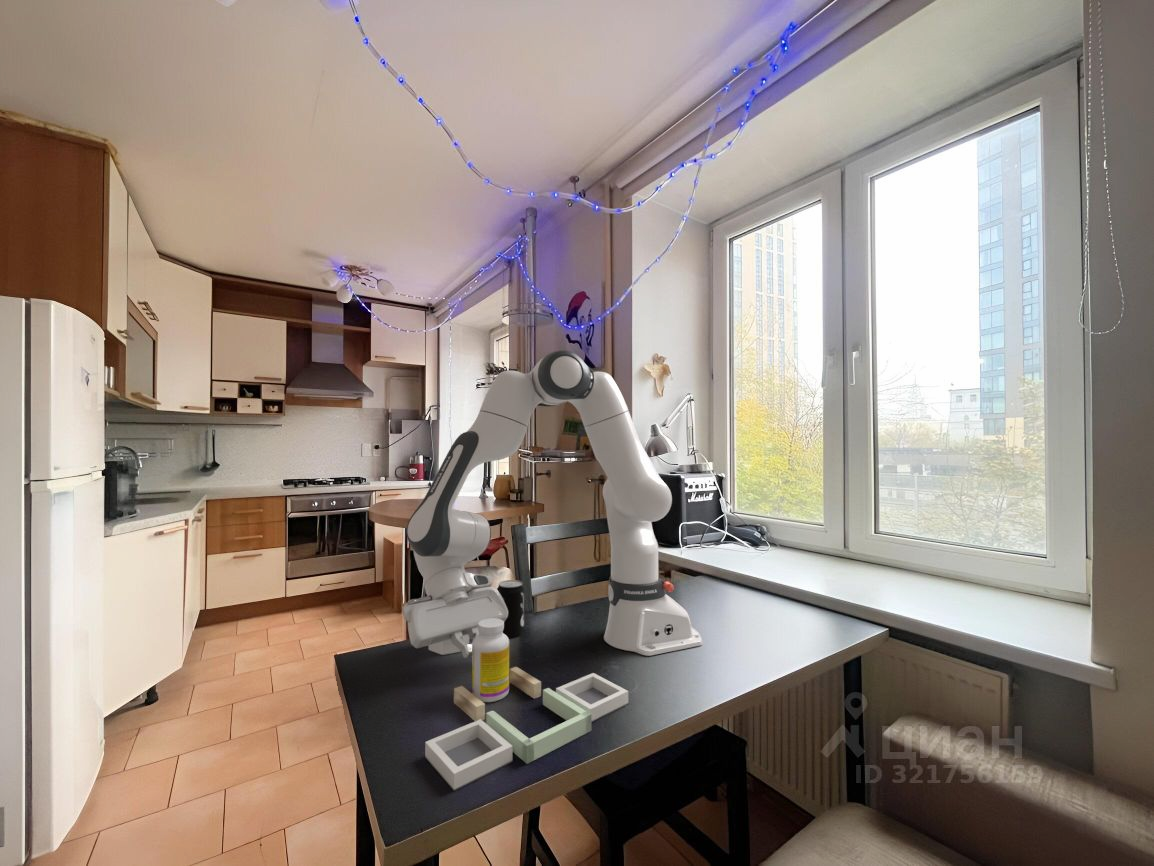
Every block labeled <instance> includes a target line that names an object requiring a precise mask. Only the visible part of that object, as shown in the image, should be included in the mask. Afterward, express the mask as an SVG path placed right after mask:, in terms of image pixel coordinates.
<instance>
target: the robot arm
mask: <svg viewBox="0 0 1154 866" xmlns="http://www.w3.org/2000/svg"><path fill="white" fill-rule="evenodd" d="M617 384H618V383H616V381H615V380H614V378H613V377H612V375H611V374H610V373H608V372H605V371H594V370H593V369H592V368H591V367H589V366H588V365H587V364H586V363H585V361H584V360H583V359H582V358H581V357H580V356H579V355H577V354H576V353H575V352H573V351H570V350H566V349H559V350H554V351H551V352H550V353H548V354H546V355H545V356H543V358H541V359H539V360H538V361H537V363H536V364H535V365H534V367H533V368H532V369H531V370H530V371H529V372H528V373H524V372H521V371H518V370H509V369H508V370H504V371H502V372H500V373H498V374H497V375H496V376H495V378H494V380H493V381H492V382H491V385H490V387H489V388H488V391H487V392H486V394H485V397H484V399H483V401H482V403H481V407H480V408H479V412H478V415H477V417H476V418H475V421H474V422H473V423H472V425H471V426H470V428H468V430H467V431H465V432H462V433H460V434H459V435H458V437H456V439H455V440H454V441H453V444H451V446H450V449H449V450H448V452H447V454H446V456H445V458H444V459H443V461H442V463H441V465H440V467H439V469H438V471H437V473H436V475H435V477H434V479H433V480H432V482H431V484H430V486H429V488H428V490H427V492H426V494H425V496H424V497H423V499H422V501H421V502H420V504H419V505H418V506H417V508H416V509H415V510H414V512H413V513H412V515H411V516H410V517H409V520H408V522H407V526H406V538H407V541H408V544H409V545H410V547H411V549H412V550H413V557H414V560H415V563H416V566H417V570H418V571H419V573H420V574H421V576H422V578H423V588H424V591H425V594H426V596H423V597H419V598H412V599H409V600H408V601H407V602H406V603H404V604H403V606H402V614H403V617H404V620H406V622H407V630H408V636H409V641H410V645H411V646H413V647H414V648H416V649H420V648H424V647H427V646H428V647H429V645H432V644H435V643H439V642H442V641H446V640H450V639H451V640H452V643H453V644H454V645H455V646H456V647H457V648H458V649H459V650H461V651H462V652H461V654H462V656H463V658H464V659H466V658H469V657H472V643H473V640H474V638H475V637H476V636H478V635H479V632H478V623H479V622H480V621H481V620H484V619H489V618H496V619H501V620H503V621H504V622H505V620H506V619H507V617H508V609H507V607H506V604H505V602H504V600H503V598H502V596H501V595H500V593H499V591H498V590H497V588H496V587H495V586H492V585H493V579H492V576H490V575H488V574H479V573H472V572H467V571H466V569H465V565H466V564H469V563H471V562H473V561H474V560H475V559H477V558H479V557H480V556H481V555H482V554H483V553H484V552H485V551H486V550H487V549H488V547H489V546H490V542H491V541H492V527H491V525H490V522H489V520H488V519H487V518H486V517H485V515H482V514H479V513H475V512H471V511H467V510H460V509H454V508H453V507H454V504H455V502H456V500H457V499H458V496H459V495H460V492H461V490H462V488H463V487H464V484H465V482H466V480H467V478H468V476H469V474H470V473H471V472H472V471H473V470H474V469H475V468H477V467H478V466H479V465H482V464H485V463H488V462H495V461H500V460H504V459H506V458H509V457H512V455H514V454H515V453H516V452H518V450H519V449H520V447H521V445H522V444H523V442H524V438H525V435H526V432H527V430H528V426H529V424H530V420H531V417H532V415H533V412H534V411H535V409H536V408H537V407H555V406H559V405H563V404H565V403H567V402H568V403H569V404H572V405H573V407H575V409H576V410H577V412H578V413H579V414H580V415H579V416H580V419H581V421H582V425H583V426H584V431H585V433H586V436H587V437H588V440H589V443H590V446H591V450H592V451H593V454H594V457H595V459H596V460H597V461H598V463H599V465H600V466H601V469H602V470H603V472H604V474H605V475H606V477H607V479H606V480H605V482H604V485H603V486H602V496H603V500H604V503H605V510H606V520H607V527H608V533H609V540H610V576H609V579H608V601H609V609H608V610H609V611H608V617H607V624H606V629H605V632H604V635H603V640H604V642H606V643H607V644H608V645H609V646H611V647H613V648H616V649H619V650H624V651H628V652H634V653H636V654H639V655H642V656H646V657H648V656H649V657H650V656H655V655H659V654H664V653H669V652H675V651H679V650H684V649H690V648H695V647H699V646H702V645H703V638H702V636H701V634H700V633H699V632H698V631H697V630H696V629H695V628H694V627H692V622H691V619H690V618H691V617H690V615H689V614H688V613H689V612H687V610H686V609H685V608H684V607H682V606H681V605H680V604H679V603H678V602H676V600H674V599H673V598H672V597H670V596H669V595H668V594H667V593H672V592H673V591H674V588H675V586H674V585H673V583H670V581H665V580H664V579H663V578H660V577H659V544H658V540H657V538H656V535H655V533H654V529H653V524H652V523H653V522H658V521H660V520H661V519H664V517H666V516H667V514H668V513H669V512H670V510H671V507H672V504H673V496H672V492H671V489H670V488H669V486H668V484H667V483H666V482H664V480H663V479H662V478H661V476H660V475H659V473H658V471H657V469H656V467H655V465H654V463H653V462H652V460H651V458H650V456H649V455H648V453H647V451H646V450H645V448H644V446H643V445H642V441H641V439H640V438H639V434H638V432H637V429H636V427H635V425H634V421H633V419H632V416H631V413H630V411H629V407H628V405H627V403H626V401H625V398H624V396H623V394H622V392H621V390H620V389H619V386H618V385H617ZM666 592H667V593H666ZM464 635H469V640H471V643H469V644H468V645H467V644H466V643H465V642H464V641H463V640H462V639H461V638H462V636H464Z"/></svg>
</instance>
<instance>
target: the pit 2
mask: <svg viewBox="0 0 1154 866" xmlns="http://www.w3.org/2000/svg"><path fill="white" fill-rule="evenodd" d="M555 692H556V693H558V694H559V695H561V696H562V697H564V698H566V699H567V700H569V701H571V702H572V703H574V704H575V705H577V706H579V707H580V708H582V709H583V710H585V711H587V712H588V713H590V714H592V723H594V722H595V721H598V720H600V719H601V718H603V717H606V716H607V715H610V714H611V713H613V712H615V711H617V710H619V709H621V708H623V707H625V706H626V705H629V690H627V689H625V688H623V687H621V686H619V685H617V684H615V683H613V682H611V681H609V680H608V679H606V678H604V677H602V676H600V675H598V674H597V673H594V672H592V673H590V674H587V675H584V676H582V677H580V678H577V679H576V680H572V681H570V682H568V683H566V684H562V685H561V686H558V687H555Z"/></svg>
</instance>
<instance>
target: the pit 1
mask: <svg viewBox="0 0 1154 866" xmlns="http://www.w3.org/2000/svg"><path fill="white" fill-rule="evenodd" d="M424 743H425V745H424V746H425V747H424V748H425V752H424V755H425V756H424V758H425V759H426V760H427V762H428V763H429V764H430V765H431V767H433V768H434V770H436V772H437V773H438V774H439V776H440V777H441V778H442V779H443V780H444V781H445V783H447V784H448V786H449V787H450V788H451V789H452V791H454V792H455V791H457V790H459V789H461V788H463V787H465V786H467V785H469V784H471V783H472V782H473V783H474V782H475V781H477V780H479V779H482V778H483V777H485V776H487V775H490V774H491V773H493V772H496V771H497V770H499V769H501V768H503V767H505V766H507V765H509V764H511V763H513V753H514V752H513V746H512V745H511V744H510V743H508V742H507V741H506V740H505V739H504V738H502V737H501V736H500V735H499V734H498V733H497V732H495V731H494V730H493V729H492V728H491V727H489V726H488V725H487V724H486V721H484V720H481V719H480V720H477V721H474V722H473V721H472V722H470V723H468V724H466V725H463V726H460V727H458V728H456V729H453V730H451V731H449V732H446V733H443V734H441V735H439V736H436V737H434V738H431V739H429V740H427V741H425V742H424Z"/></svg>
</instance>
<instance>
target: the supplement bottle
mask: <svg viewBox="0 0 1154 866" xmlns="http://www.w3.org/2000/svg"><path fill="white" fill-rule="evenodd" d="M503 629H504V621H503V620H501V619H496V618H489V619H484V620H481V621H480V622H479V623H478V632H479V635H478V636H476V637H475V638H474V640H473V643H472V642H471V644H472V656H471V658H472V659H471V661H472V663H471V665H472V667H471V693H472V694H473V695H474V696H476V697H477V698H478V699H479V700H481V701H482V702H483V703H493V702H498V701H500V700H503V699H504V698H506V696H507V695H508V694H509V691H510V639H509V638H508V637H507V636H506V635H505V634H504V633H503Z"/></svg>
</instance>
